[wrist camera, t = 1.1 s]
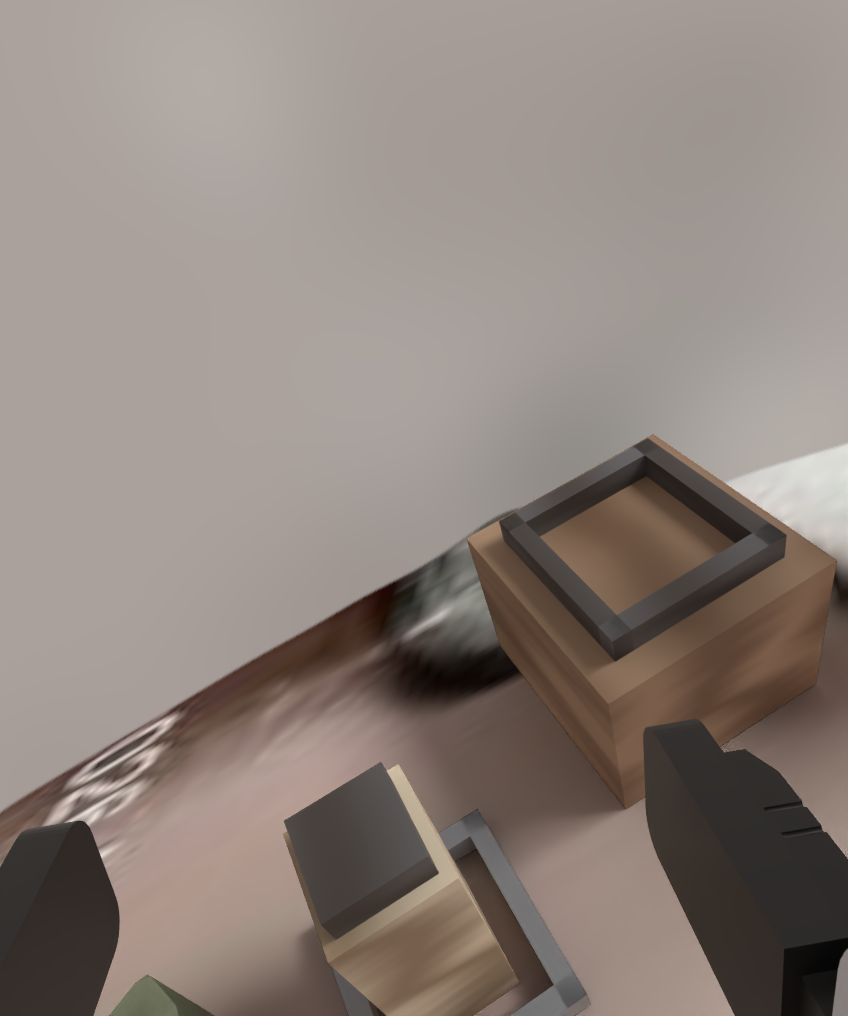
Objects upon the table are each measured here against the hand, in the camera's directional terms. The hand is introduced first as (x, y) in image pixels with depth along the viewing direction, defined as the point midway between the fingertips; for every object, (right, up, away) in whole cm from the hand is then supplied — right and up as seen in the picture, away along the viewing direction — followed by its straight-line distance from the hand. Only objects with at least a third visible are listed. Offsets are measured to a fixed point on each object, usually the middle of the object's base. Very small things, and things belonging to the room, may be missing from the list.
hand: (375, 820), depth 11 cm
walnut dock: (+11, -3, +24) cm, 27 cm away
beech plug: (+2, -13, +17) cm, 21 cm away
